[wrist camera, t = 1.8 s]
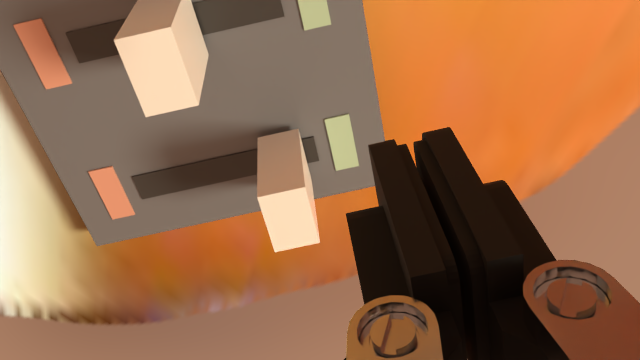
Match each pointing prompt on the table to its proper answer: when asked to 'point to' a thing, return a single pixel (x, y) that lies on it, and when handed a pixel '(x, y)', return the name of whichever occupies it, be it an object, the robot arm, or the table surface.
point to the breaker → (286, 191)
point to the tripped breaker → (163, 54)
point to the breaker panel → (194, 122)
